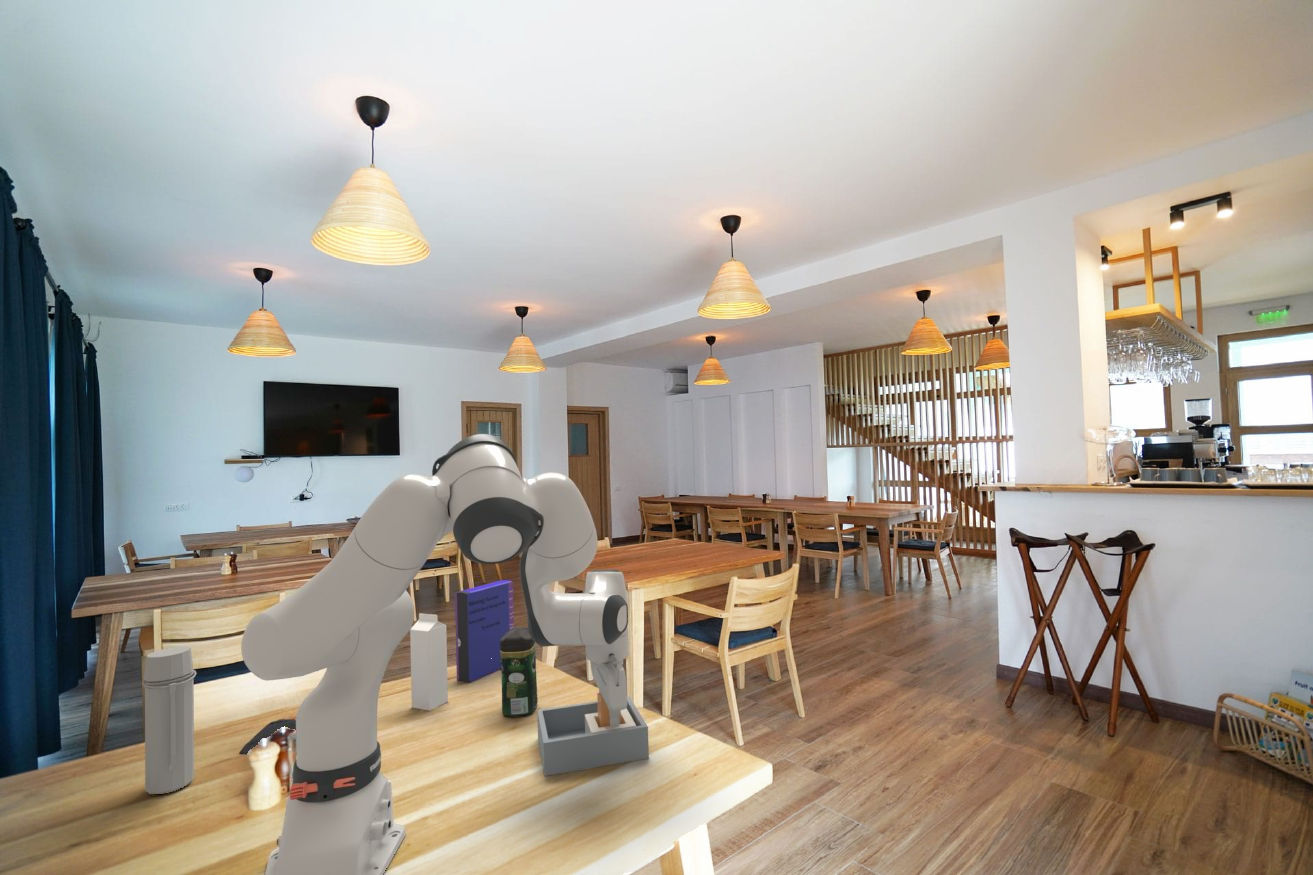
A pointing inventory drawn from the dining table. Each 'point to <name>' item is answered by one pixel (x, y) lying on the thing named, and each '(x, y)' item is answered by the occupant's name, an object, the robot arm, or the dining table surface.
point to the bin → (587, 739)
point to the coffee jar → (518, 673)
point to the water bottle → (169, 720)
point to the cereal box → (482, 628)
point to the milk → (428, 663)
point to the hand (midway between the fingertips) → (609, 715)
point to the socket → (592, 726)
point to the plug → (603, 712)
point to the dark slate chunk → (268, 732)
